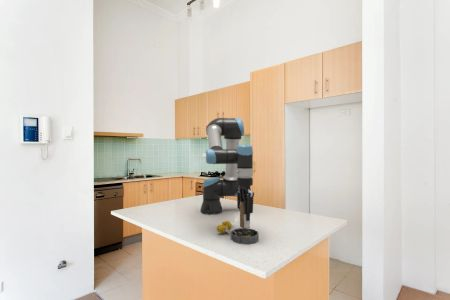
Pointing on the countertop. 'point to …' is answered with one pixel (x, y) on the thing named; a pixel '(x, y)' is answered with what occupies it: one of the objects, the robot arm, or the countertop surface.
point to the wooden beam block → (242, 214)
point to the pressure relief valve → (225, 227)
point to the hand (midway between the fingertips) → (244, 225)
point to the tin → (245, 236)
